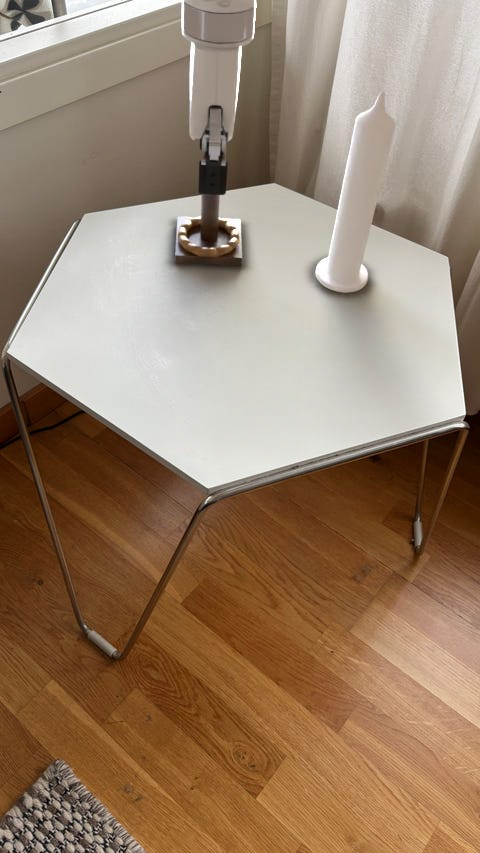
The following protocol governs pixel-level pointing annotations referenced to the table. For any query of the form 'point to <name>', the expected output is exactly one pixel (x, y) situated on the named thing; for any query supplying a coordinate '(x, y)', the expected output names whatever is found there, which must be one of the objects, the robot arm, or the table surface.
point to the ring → (208, 251)
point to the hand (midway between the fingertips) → (212, 170)
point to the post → (209, 235)
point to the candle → (358, 200)
